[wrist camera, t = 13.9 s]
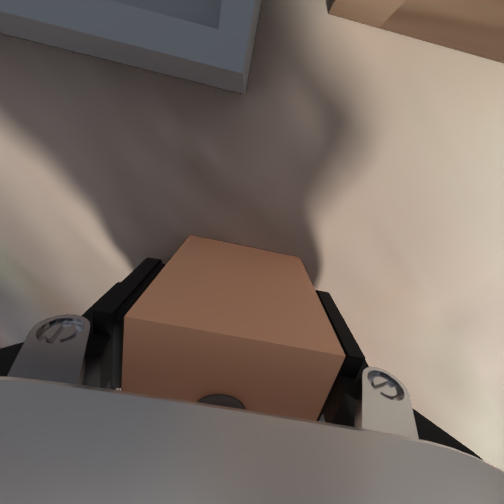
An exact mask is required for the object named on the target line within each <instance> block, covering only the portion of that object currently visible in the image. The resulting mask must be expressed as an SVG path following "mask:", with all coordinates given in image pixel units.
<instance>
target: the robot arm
mask: <svg viewBox="0 0 504 504" xmlns="http://www.w3.org/2000/svg"><path fill="white" fill-rule="evenodd" d="M164 267H165V264H163V263H162V261H161V260H159V259H154V258H149V257H148V258H146V259H145V260H144V261H143V262H142V263H141V264H140V265H139V266H138V267H137V268H136V269H135V270H134V271H133V272H132V273H131V274H129V275H128V276H127V277H126V278H125V279H124V280H123V281H122V282H118V283H116V284H115V285H114V286H113V287H112V288H111V289H110V290H109V291H108V292H107V293H105V294H104V295H103V296H102V297H101V298H100V299H99V300H98V301H97V302H96V303H95V304H94V305H93V306H91V307H90V308H89V309H88V310H87V311H86V312H85V313H84V314H83V315H82V316H79V315H70V314H66V315H59V316H55V317H51V318H48V319H46V320H44V321H42V322H40V323H38V324H37V325H35V326H34V327H33V328H32V330H31V331H30V332H29V334H28V336H27V338H26V340H25V342H23V343H19V344H15V345H12V346H8V347H5V348H1V349H0V504H504V471H502V470H501V469H499V468H497V467H495V466H493V465H491V464H489V463H487V462H485V461H483V460H482V459H481V458H480V457H479V456H478V455H476V454H475V453H474V452H473V451H471V450H470V449H468V448H467V447H466V446H464V445H463V444H461V443H460V442H459V441H457V440H456V439H455V438H453V437H452V436H450V435H449V434H448V433H446V432H445V431H443V430H442V429H441V428H439V427H438V426H436V425H435V424H434V423H432V422H431V421H429V420H428V419H427V418H425V417H424V416H422V415H421V414H420V413H418V412H417V411H415V410H414V409H413V408H412V404H411V400H410V395H409V393H408V390H407V389H406V387H405V386H404V385H403V384H402V383H401V382H400V381H399V380H398V379H397V378H396V377H395V376H393V375H392V374H391V373H389V372H387V371H385V370H383V369H380V368H377V367H369V366H368V364H367V362H366V361H365V357H364V355H363V353H362V351H361V349H360V348H359V346H358V344H357V342H356V340H355V339H354V337H353V335H352V333H351V331H350V330H349V328H348V326H347V324H346V323H345V321H344V319H343V317H342V315H341V314H340V312H339V310H338V308H337V306H336V305H335V303H334V301H333V299H332V298H331V296H330V294H329V293H328V292H323V291H318V290H316V293H317V295H318V298H319V300H320V302H321V304H322V306H323V308H324V311H325V313H326V315H327V317H328V319H329V321H330V323H331V326H332V328H333V330H334V332H335V334H336V336H337V338H338V341H339V343H340V345H341V347H342V349H343V351H344V354H345V359H344V361H343V363H342V365H341V367H340V370H339V372H338V374H337V376H336V378H335V381H334V383H333V385H332V387H331V390H330V392H329V394H328V396H327V398H326V401H325V403H324V405H323V407H322V409H321V412H320V414H319V416H318V418H317V420H316V421H314V420H308V419H301V418H295V417H289V416H283V415H277V414H270V413H264V412H257V411H251V410H245V409H238V408H232V407H225V406H219V405H212V404H206V403H199V402H193V401H186V400H180V399H173V398H166V397H160V396H153V395H146V394H139V393H133V392H126V391H119V390H115V389H116V388H121V387H122V363H123V338H124V316H125V315H126V314H127V312H128V311H129V310H130V309H131V308H132V306H133V305H134V304H135V303H136V301H137V300H138V299H139V298H140V296H141V295H142V294H143V293H144V291H145V290H146V289H147V288H148V286H149V285H150V284H151V283H152V281H153V280H154V279H155V278H156V276H157V275H158V274H159V273H160V272H161V270H162V269H163V268H164Z"/></svg>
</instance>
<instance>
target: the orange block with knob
mask: <svg viewBox="0 0 504 504" xmlns="http://www.w3.org/2000/svg"><path fill="white" fill-rule="evenodd" d="M344 359H345V354H344V351H343V349H342V347H341V345H340V343H339V341H338V338H337V336H336V334H335V332H334V330H333V328H332V326H331V323H330V321H329V319H328V317H327V315H326V313H325V311H324V308H323V306H322V304H321V302H320V300H319V298H318V295H317V293H316V291H315V289H314V287H313V285H312V283H311V280H310V278H309V276H308V274H307V272H306V270H305V268H304V265H303V263H302V261H301V259H300V257H295V256H290V255H285V254H280V253H276V252H271V251H266V250H261V249H256V248H251V247H247V246H242V245H237V244H232V243H227V242H222V241H218V240H213V239H208V238H203V237H198V236H193V235H189V237H188V238H187V239H186V240H185V242H184V243H183V244H182V245H181V247H180V248H179V249H178V250H177V252H176V253H175V254H174V255H173V257H172V258H171V259H170V260H169V262H168V263H167V264H166V265H165V267H164V268H163V269H162V270H161V272H160V273H159V274H158V275H157V276H156V278H155V279H154V280H153V281H152V283H151V284H150V285H149V286H148V288H147V289H146V290H145V291H144V293H143V294H142V295H141V296H140V298H139V299H138V300H137V301H136V303H135V304H134V305H133V306H132V308H131V309H130V310H129V311H128V312H127V314H126V315H125V316H124V338H123V363H122V387H121V391H126V392H133V393H139V394H146V395H153V396H160V397H166V398H173V399H180V400H186V401H193V402H199V403H206V404H212V405H219V406H225V407H232V408H238V409H245V410H251V411H257V412H264V413H270V414H277V415H283V416H289V417H295V418H301V419H308V420H314V421H316V420H317V418H318V416H319V414H320V412H321V409H322V407H323V405H324V403H325V401H326V398H327V396H328V394H329V392H330V390H331V387H332V385H333V383H334V381H335V378H336V376H337V374H338V372H339V370H340V367H341V365H342V363H343V361H344Z"/></svg>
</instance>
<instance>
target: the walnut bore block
mask: <svg viewBox="0 0 504 504" xmlns="http://www.w3.org/2000/svg"><path fill="white" fill-rule="evenodd" d="M328 14H331V15H335V16H338V17H342V18H345V19H349V20H353V21H356V22H360V23H363V24H367V25H370V26H374V27H377V28H381V29H384V30H388V31H392V32H395V33H399V34H402V35H406V36H409V37H413V38H416V39H420V40H424V41H427V42H431V43H434V44H438V45H441V46H445V47H448V48H452V49H455V50H459V51H463V52H466V53H470V54H473V55H477V56H480V57H484V58H487V59H491V60H494V61H498V62H502V63H504V0H332V2H331V5H330V9H329V13H328Z"/></svg>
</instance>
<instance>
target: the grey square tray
mask: <svg viewBox="0 0 504 504" xmlns="http://www.w3.org/2000/svg"><path fill="white" fill-rule="evenodd" d="M261 3H262V0H0V33H2V34H6V35H10V36H14V37H18V38H22V39H26V40H30V41H34V42H38V43H42V44H46V45H50V46H54V47H58V48H62V49H66V50H70V51H74V52H78V53H82V54H86V55H90V56H94V57H98V58H102V59H106V60H110V61H114V62H118V63H122V64H126V65H130V66H134V67H138V68H142V69H146V70H150V71H154V72H158V73H162V74H166V75H170V76H174V77H178V78H182V79H186V80H190V81H194V82H198V83H202V84H206V85H210V86H214V87H218V88H222V89H226V90H230V91H234V92H238V93H242V94H245V93H246V87H247V81H248V76H249V70H250V65H251V59H252V53H253V48H254V42H255V36H256V31H257V25H258V20H259V14H260V8H261Z"/></svg>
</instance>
